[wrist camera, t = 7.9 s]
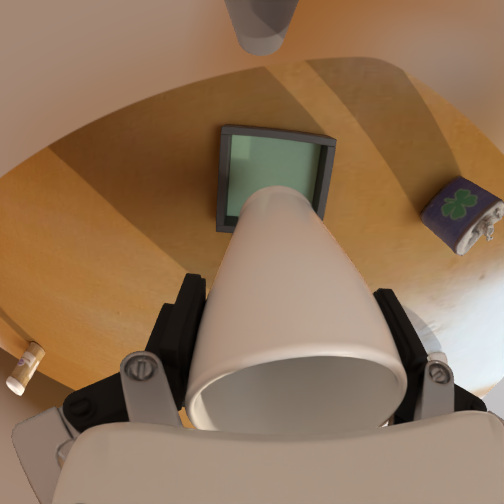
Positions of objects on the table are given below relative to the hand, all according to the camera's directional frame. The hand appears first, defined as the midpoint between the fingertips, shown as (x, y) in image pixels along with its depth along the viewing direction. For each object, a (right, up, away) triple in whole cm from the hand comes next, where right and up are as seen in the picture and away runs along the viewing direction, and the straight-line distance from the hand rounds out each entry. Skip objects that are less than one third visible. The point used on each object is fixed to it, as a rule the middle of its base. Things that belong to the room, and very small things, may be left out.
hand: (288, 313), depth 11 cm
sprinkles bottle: (-51, -20, +38) cm, 67 cm away
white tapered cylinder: (0, +5, +9) cm, 10 cm away
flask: (+24, +10, +20) cm, 32 cm away
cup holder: (+1, +11, +19) cm, 22 cm away
